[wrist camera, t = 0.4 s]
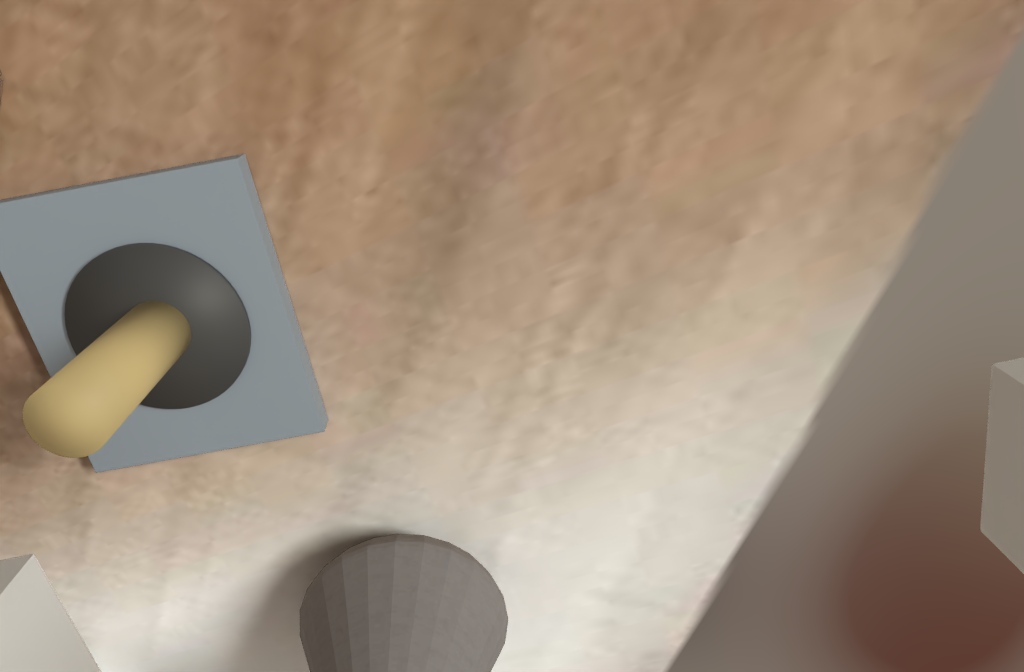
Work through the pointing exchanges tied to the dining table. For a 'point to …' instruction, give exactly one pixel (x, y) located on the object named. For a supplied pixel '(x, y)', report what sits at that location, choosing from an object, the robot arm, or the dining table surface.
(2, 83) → the ring
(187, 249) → the square base plate
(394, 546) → the coffee pot
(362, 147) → the dining table surface
